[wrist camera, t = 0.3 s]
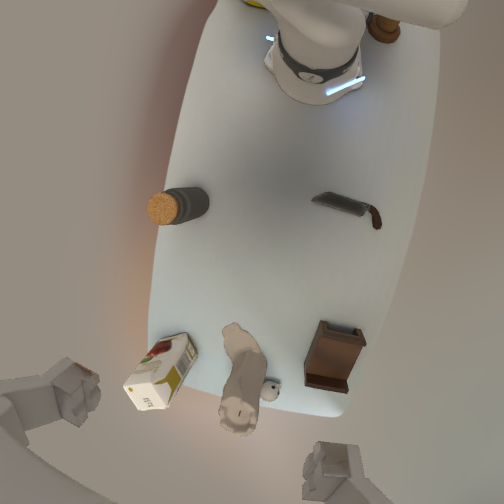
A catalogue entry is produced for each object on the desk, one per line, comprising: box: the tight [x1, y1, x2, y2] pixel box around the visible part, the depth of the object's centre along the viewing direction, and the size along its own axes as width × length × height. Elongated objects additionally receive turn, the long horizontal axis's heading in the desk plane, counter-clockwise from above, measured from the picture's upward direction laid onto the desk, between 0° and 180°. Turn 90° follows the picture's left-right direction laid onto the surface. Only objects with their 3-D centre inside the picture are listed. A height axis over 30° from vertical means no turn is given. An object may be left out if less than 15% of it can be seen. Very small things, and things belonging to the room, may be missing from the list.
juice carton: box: [123, 333, 198, 411], centre depth 54 cm, size 8×9×19 cm
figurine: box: [260, 381, 280, 402], centre depth 60 cm, size 5×5×5 cm
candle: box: [219, 323, 267, 437], centre depth 51 cm, size 7×14×20 cm, turn 28°
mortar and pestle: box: [368, 14, 400, 43], centre depth 33 cm, size 7×6×18 cm
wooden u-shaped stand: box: [304, 321, 367, 394], centre depth 54 cm, size 11×9×8 cm
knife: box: [311, 192, 382, 230], centre depth 51 cm, size 14×4×1 cm, turn 74°
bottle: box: [148, 187, 209, 225], centre depth 48 cm, size 6×6×15 cm
